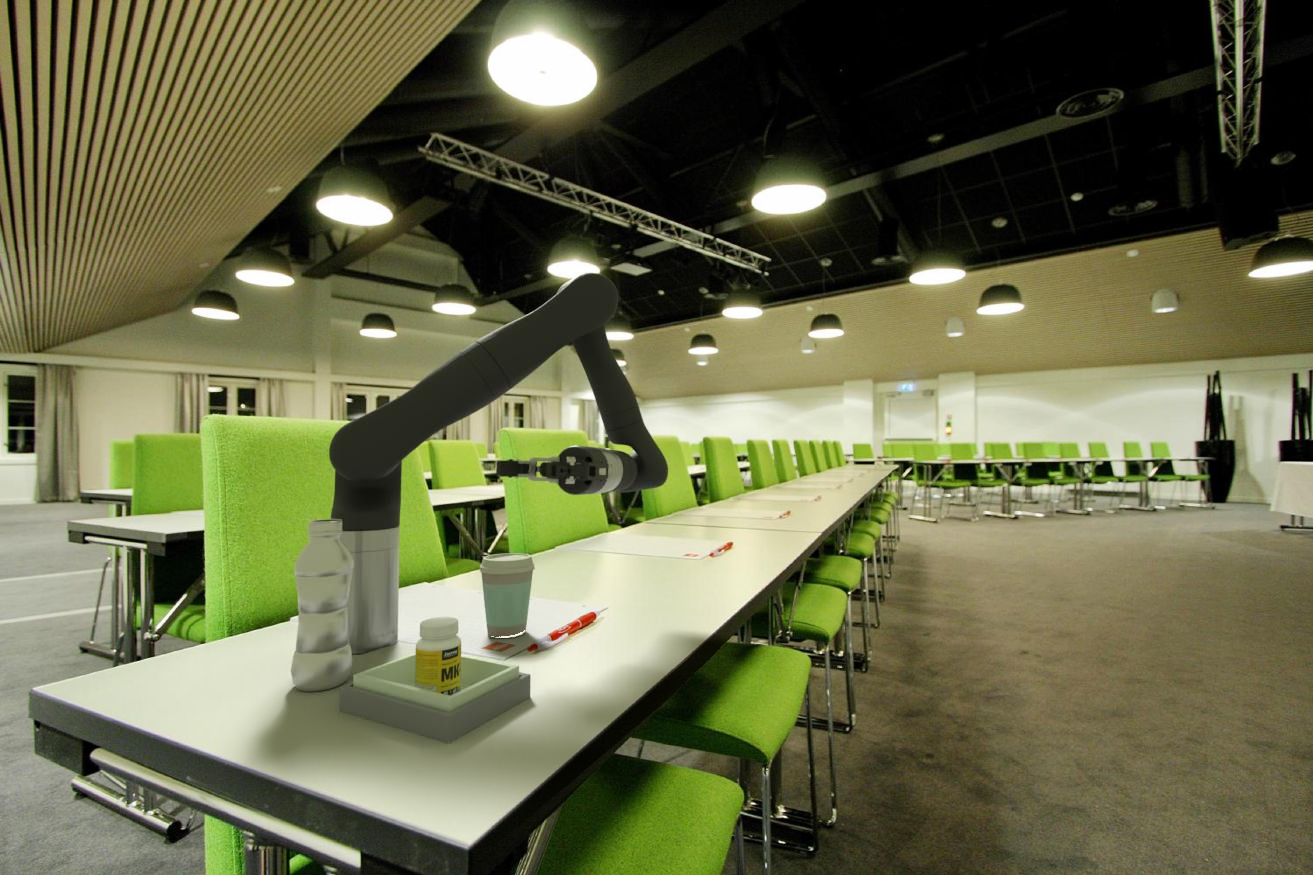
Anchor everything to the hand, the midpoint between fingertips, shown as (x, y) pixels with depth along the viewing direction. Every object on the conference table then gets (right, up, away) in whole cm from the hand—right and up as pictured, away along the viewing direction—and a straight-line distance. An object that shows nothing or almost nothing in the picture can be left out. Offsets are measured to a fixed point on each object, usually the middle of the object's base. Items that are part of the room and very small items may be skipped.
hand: (523, 469), depth 77 cm
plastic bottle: (-22, -26, -8) cm, 35 cm away
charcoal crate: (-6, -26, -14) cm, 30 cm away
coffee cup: (-6, -27, +14) cm, 31 cm away
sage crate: (-6, -25, -14) cm, 29 cm away
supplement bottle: (-6, -25, -13) cm, 29 cm away
